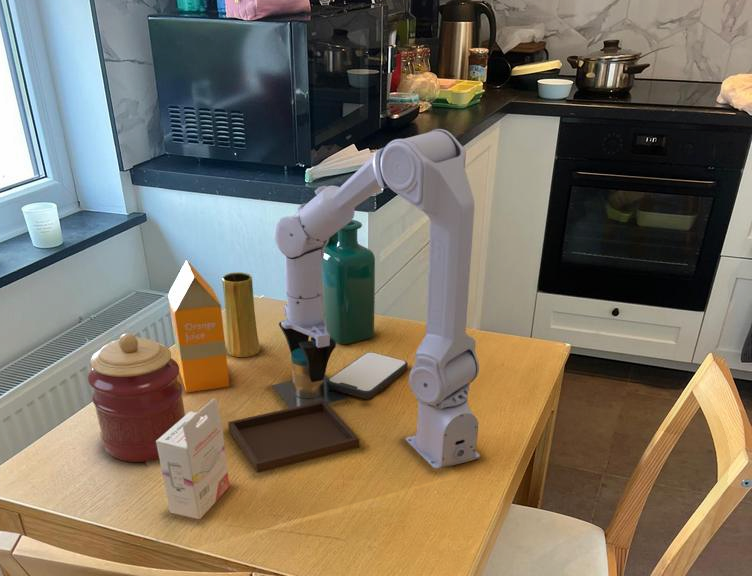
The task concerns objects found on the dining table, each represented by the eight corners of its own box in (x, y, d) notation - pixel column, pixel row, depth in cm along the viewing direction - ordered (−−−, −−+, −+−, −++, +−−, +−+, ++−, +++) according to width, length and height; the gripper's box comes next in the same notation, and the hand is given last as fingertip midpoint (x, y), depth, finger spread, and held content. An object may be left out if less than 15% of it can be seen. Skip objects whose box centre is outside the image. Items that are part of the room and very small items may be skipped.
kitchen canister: (85, 445, 118) (59, 337, 108) (152, 412, 127) (133, 309, 117) (140, 474, 112) (118, 363, 102) (207, 437, 120) (192, 331, 110)
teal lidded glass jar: (329, 395, 131) (328, 357, 127) (300, 401, 129) (297, 363, 125) (317, 381, 135) (315, 344, 131) (288, 388, 133) (286, 350, 129)
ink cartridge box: (200, 481, 111) (186, 389, 102) (230, 488, 109) (220, 395, 101) (167, 515, 104) (150, 419, 95) (199, 523, 103) (185, 427, 94)
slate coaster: (347, 401, 130) (347, 398, 130) (292, 413, 127) (292, 410, 126) (324, 376, 138) (324, 373, 137) (271, 388, 134) (271, 385, 134)
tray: (359, 449, 118) (359, 438, 117) (257, 475, 112) (256, 464, 111) (324, 410, 128) (324, 400, 127) (229, 432, 122) (227, 421, 121)
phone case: (367, 358, 144) (323, 389, 132) (367, 350, 143) (323, 380, 131) (410, 369, 141) (369, 402, 129) (410, 361, 140) (369, 393, 128)
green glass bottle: (378, 337, 152) (379, 223, 139) (341, 347, 148) (339, 230, 135) (351, 320, 158) (351, 210, 146) (316, 329, 155) (311, 217, 142)
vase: (257, 358, 144) (251, 283, 136) (225, 357, 144) (216, 283, 136) (262, 344, 149) (256, 271, 140) (230, 343, 149) (222, 271, 141)
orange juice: (185, 392, 132) (168, 278, 121) (178, 371, 139) (162, 261, 128) (230, 386, 134) (218, 273, 123) (221, 365, 141) (209, 256, 130)
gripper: (265, 281, 126) (270, 358, 133) (298, 312, 115) (302, 394, 123) (305, 275, 128) (308, 351, 136) (341, 304, 117) (342, 385, 125)
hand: (308, 370), depth 130 cm, fingers open, 7 cm apart
